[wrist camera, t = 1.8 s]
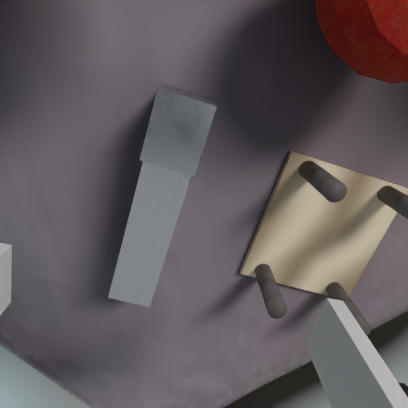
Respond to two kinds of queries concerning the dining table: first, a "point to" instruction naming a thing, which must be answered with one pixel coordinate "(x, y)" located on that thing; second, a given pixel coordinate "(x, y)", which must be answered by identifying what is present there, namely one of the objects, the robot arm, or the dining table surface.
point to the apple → (368, 35)
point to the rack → (320, 231)
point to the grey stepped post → (160, 189)
